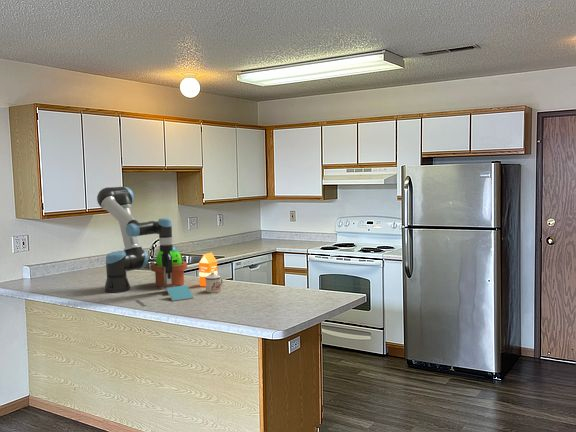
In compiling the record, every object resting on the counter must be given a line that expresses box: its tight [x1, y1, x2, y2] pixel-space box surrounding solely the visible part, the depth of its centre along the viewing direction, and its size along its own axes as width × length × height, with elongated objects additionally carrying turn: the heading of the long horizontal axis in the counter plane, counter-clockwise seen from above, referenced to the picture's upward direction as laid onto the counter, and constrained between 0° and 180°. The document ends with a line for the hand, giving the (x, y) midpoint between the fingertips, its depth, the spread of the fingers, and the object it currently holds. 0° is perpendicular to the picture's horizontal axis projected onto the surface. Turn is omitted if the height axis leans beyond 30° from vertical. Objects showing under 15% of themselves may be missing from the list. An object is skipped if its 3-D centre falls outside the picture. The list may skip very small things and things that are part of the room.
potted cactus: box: [150, 246, 188, 288], centre depth 349 cm, size 22×22×25 cm
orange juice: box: [198, 252, 218, 287], centre depth 345 cm, size 8×9×20 cm
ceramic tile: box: [165, 284, 194, 302], centre depth 309 cm, size 12×12×1 cm
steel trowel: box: [160, 266, 177, 292], centre depth 324 cm, size 12×8×13 cm, turn 30°
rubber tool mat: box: [134, 299, 147, 307], centre depth 302 cm, size 16×12×1 cm
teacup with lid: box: [205, 272, 224, 294], centre depth 326 cm, size 12×9×12 cm
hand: (167, 283), depth 327 cm, fingers closed on steel trowel, 3 cm apart
